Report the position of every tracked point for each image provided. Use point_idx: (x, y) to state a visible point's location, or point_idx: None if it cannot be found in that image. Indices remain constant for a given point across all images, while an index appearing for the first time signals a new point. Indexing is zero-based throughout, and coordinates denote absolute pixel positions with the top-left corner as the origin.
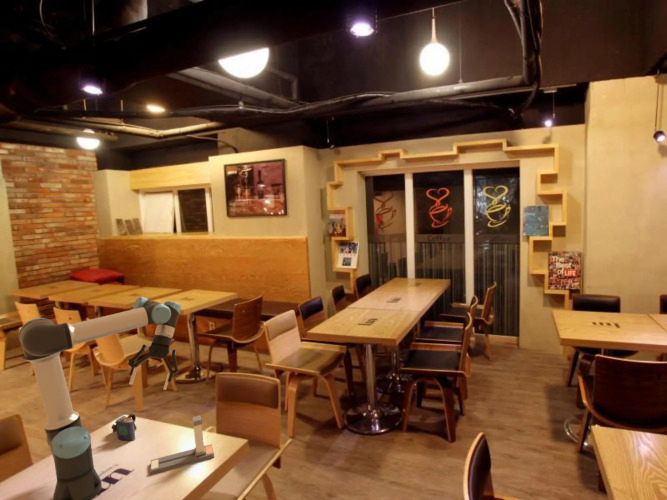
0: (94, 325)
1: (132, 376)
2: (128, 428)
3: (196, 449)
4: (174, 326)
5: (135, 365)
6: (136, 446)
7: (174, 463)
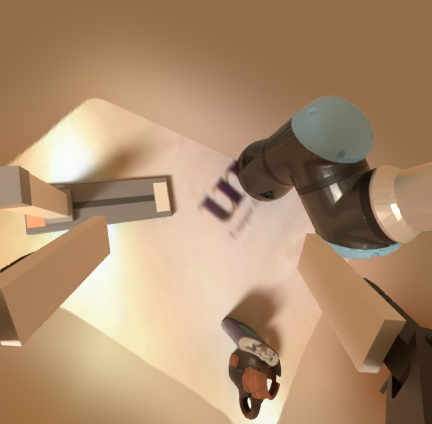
0: None
1: (337, 259)
2: (241, 330)
3: (62, 192)
4: None
5: (426, 351)
6: (212, 291)
7: (120, 184)
